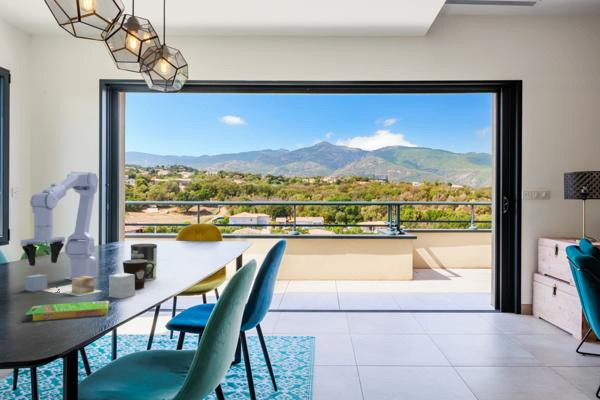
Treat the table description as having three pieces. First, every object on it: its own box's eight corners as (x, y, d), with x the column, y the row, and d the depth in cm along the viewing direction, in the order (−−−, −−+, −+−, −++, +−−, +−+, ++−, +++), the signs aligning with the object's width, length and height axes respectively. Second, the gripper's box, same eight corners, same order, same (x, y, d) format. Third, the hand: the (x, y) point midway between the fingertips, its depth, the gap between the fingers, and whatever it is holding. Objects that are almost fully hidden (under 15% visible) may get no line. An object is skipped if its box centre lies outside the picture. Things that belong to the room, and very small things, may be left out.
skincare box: (135, 295, 145) (135, 274, 145) (119, 299, 140) (119, 277, 140) (123, 293, 148) (124, 272, 148) (108, 296, 143) (108, 275, 143)
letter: (76, 284, 162) (76, 283, 162) (92, 287, 157) (92, 286, 157) (41, 290, 151) (41, 289, 151) (57, 293, 146) (57, 293, 146)
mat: (87, 288, 155) (87, 288, 155) (102, 291, 150) (102, 291, 150) (63, 293, 147) (63, 292, 147) (78, 296, 142) (78, 296, 142)
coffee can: (144, 282, 167) (144, 246, 167) (124, 280, 171) (125, 245, 171) (162, 277, 177) (162, 244, 177) (142, 275, 181) (143, 243, 181)
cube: (39, 287, 155) (39, 274, 155) (47, 289, 153) (47, 275, 153) (25, 290, 151) (24, 276, 151) (33, 291, 148) (32, 277, 148)
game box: (106, 318, 122) (24, 322, 114) (108, 310, 131) (32, 312, 123) (107, 308, 122) (24, 310, 114) (109, 300, 131) (33, 302, 123)
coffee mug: (123, 291, 151) (123, 263, 151) (121, 286, 159) (121, 260, 159) (157, 288, 156) (157, 261, 156) (153, 284, 164) (153, 258, 164)
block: (85, 289, 152) (85, 275, 152) (93, 291, 150) (94, 277, 150) (71, 292, 148) (72, 278, 148) (80, 294, 145) (80, 279, 145)
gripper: (28, 227, 143) (28, 267, 143) (69, 225, 155) (69, 262, 155) (17, 227, 146) (17, 266, 146) (58, 224, 159) (58, 260, 159)
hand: (43, 264), depth 151 cm, fingers open, 7 cm apart
